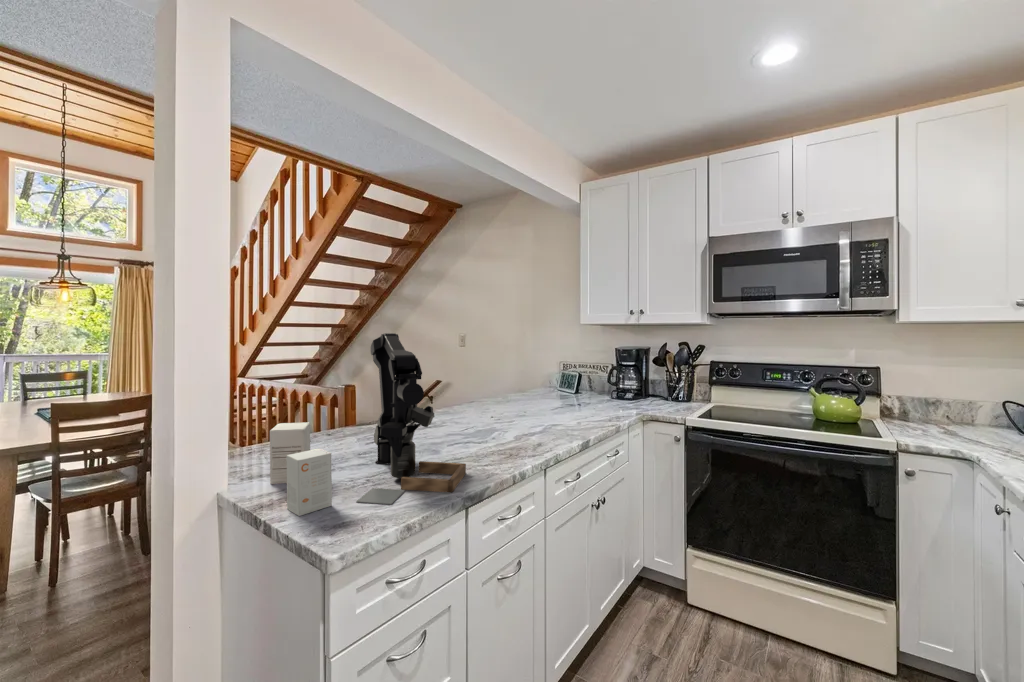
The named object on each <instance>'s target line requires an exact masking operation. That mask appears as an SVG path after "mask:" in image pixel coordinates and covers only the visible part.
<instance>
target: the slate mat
mask: <svg viewBox="0 0 1024 682" xmlns="http://www.w3.org/2000/svg"><path fill="white" fill-rule="evenodd" d="M405 492H406V490H402V489H398V488H397V489H393V488H379V487H378V488H377V487H376V488H375V487H372V488H371V489H369V490H368V491H367V492H366V493H365V494H364V495H362V496H361V497H360V498H359V499H358V500H356V503H358V504H359V503H361V504H372V505H373V504H374V505H375V504H376V505H387V506H389V505H390V506H392V505H393V504H394V503H395V502H396V501H397V500H398V499H399V498H400V497H401V496H402V495H403V494H404V493H405Z"/></svg>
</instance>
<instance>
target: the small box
mask: <svg viewBox="0 0 1024 682" xmlns="http://www.w3.org/2000/svg"><path fill="white" fill-rule="evenodd" d="M332 474H333V473H332V453H331V452H330V451H328V450H324V449H322V448H315V449H310V450H309V451H304V452H300V453H295V454H290V455H287V483H286V501H287V502H286V503H287V504H286V505H287V506H286V507H287V510H288V511H290V512H292V513H293V514H295V515H296V516H298V517H301V516H304V515H307V514H310V513H313V512H317V511H319V510H323V509H325V508H328V507H332V503H333V499H332V498H333V496H332V495H333V494H332V493H333V492H332V489H333V488H332V486H333V485H332V484H333V483H332V482H333V481H332Z"/></svg>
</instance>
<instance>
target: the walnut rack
mask: <svg viewBox="0 0 1024 682" xmlns="http://www.w3.org/2000/svg"><path fill="white" fill-rule="evenodd" d="M466 467H467V463H465V462H464V463H462V462H443V461H425V460H424V461H421V460H420V461H419V462H418V473H421V474H439V475H440V474H443V475H451V476H450V477H449V479H447V478H446V479H445V478H433V477H432V478H431V477H429V478H428V477H416V476H415V477H414V476H411V477H402V478H400V490H405V491H418V492H419V491H420V492H421V491H423V492H437V493H451V494H452V493H453V492H454V491H455V489H456V488H457V486H458V485H459V483H460V482H461V481H462V480H463V478H464V477H465V475H466V473H467V472H466V471H467V470H466V469H467V468H466Z"/></svg>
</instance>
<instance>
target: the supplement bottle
mask: <svg viewBox="0 0 1024 682" xmlns="http://www.w3.org/2000/svg"><path fill="white" fill-rule="evenodd" d="M406 433H408V435H407V436H406V437H405V438H404V439H403V445H402V452H401V457H400V458H399V457H396V455H395V453H394V451H393V449H392V447H391V464H390V475H391V476H392V478H394V479H395V478H396V479H401V478H402V477H414V475H415V474H416V443H415V442H414V441H413V439H412V432H410V431H407V432H406ZM411 439H412V441H411Z"/></svg>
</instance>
